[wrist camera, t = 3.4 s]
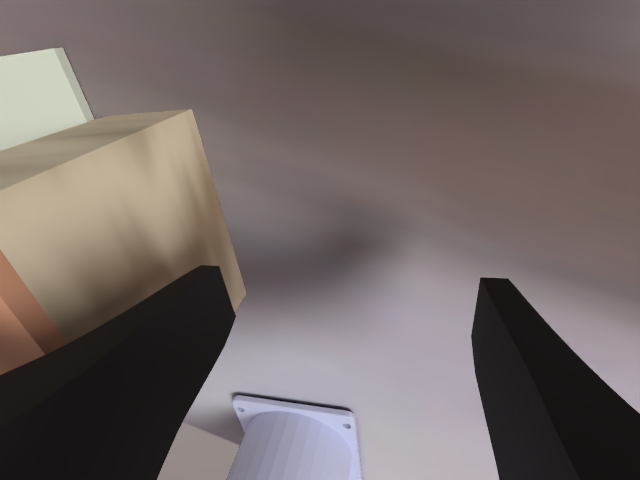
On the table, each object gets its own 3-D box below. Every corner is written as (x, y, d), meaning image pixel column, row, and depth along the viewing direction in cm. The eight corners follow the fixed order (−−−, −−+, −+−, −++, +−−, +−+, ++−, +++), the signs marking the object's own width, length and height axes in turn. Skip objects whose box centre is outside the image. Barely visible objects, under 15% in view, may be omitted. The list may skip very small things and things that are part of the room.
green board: (184, 322, 20) (180, 328, 20) (50, 310, 23) (45, 315, 22) (62, 47, 13) (53, 48, 12) (-116, 75, 15) (-127, 76, 15)
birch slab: (246, 293, 18) (138, 473, 11) (178, 288, 19) (39, 451, 12) (192, 108, 13) (-62, 217, 6) (105, 116, 14) (-198, 216, 7)
